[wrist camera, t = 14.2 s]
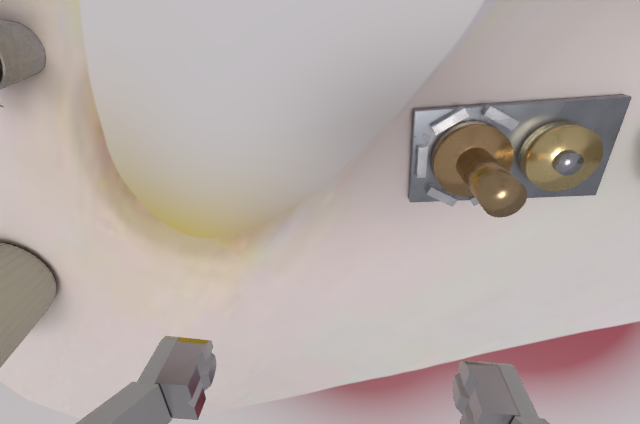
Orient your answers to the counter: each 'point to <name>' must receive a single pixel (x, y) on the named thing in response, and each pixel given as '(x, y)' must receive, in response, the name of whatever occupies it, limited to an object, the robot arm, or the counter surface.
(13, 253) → the canister
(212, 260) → the counter surface
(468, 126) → the brass joystick knob
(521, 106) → the carrier plate
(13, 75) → the house plant
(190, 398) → the robot arm
